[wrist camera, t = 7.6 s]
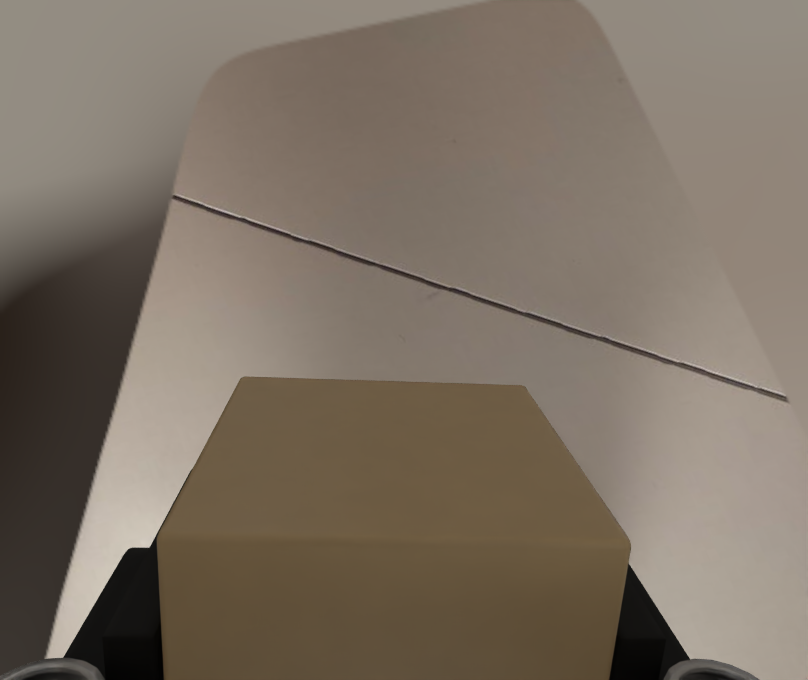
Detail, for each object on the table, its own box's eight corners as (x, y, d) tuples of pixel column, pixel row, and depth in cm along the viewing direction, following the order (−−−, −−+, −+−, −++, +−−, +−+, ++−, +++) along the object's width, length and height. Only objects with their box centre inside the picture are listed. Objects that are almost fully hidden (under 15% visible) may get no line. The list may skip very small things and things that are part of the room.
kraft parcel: (243, 692, 12) (177, 995, 8) (239, 374, 10) (152, 535, 6) (491, 690, 12) (562, 983, 8) (525, 383, 11) (636, 542, 6)
